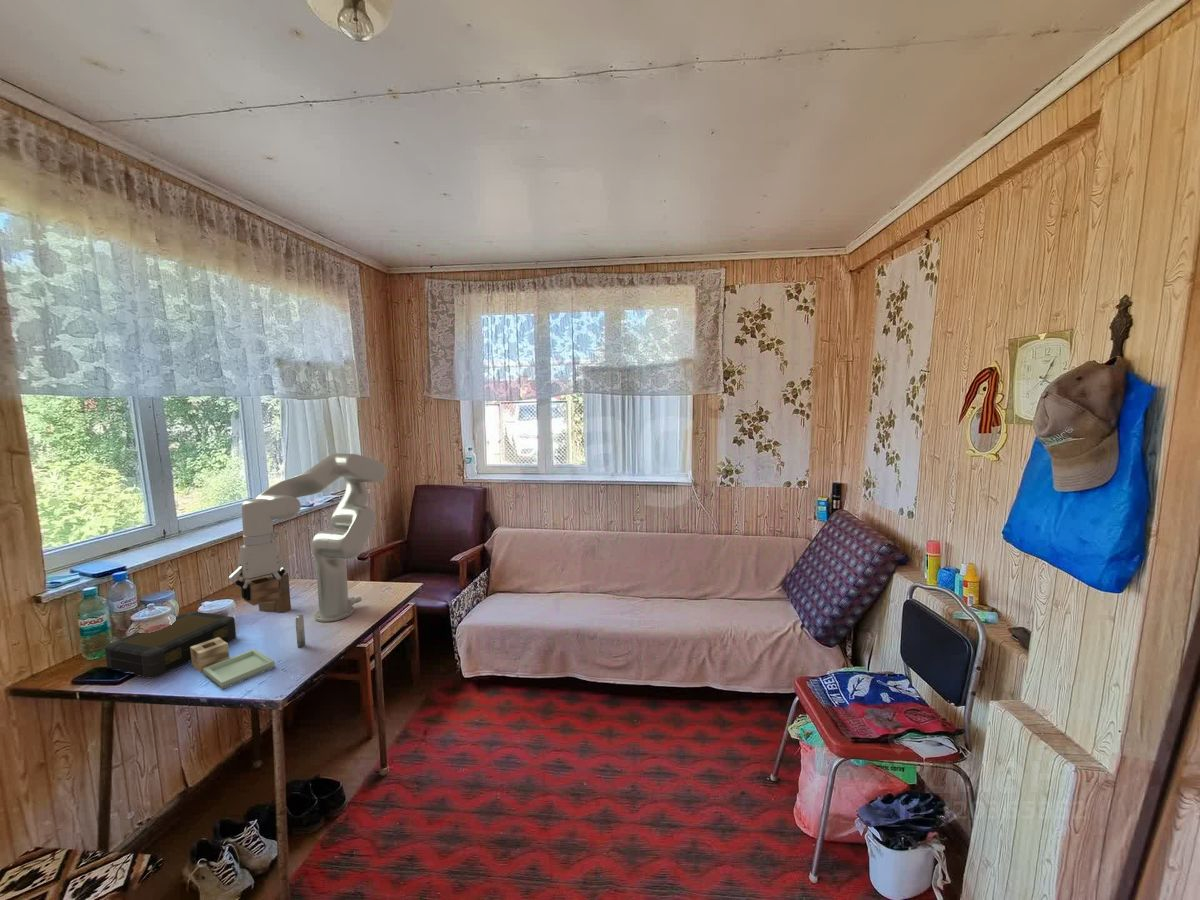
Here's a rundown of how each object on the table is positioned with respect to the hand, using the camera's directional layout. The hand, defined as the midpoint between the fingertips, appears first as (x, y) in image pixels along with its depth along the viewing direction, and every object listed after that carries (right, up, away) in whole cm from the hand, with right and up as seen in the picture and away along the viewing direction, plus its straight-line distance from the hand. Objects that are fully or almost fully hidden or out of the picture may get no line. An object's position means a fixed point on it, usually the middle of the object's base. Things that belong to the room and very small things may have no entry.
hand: (261, 595), depth 150 cm
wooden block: (-17, -15, +32) cm, 39 cm away
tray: (0, -19, -9) cm, 21 cm away
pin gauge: (+9, -18, +5) cm, 21 cm away
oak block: (-12, -19, -5) cm, 23 cm away
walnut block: (0, -1, 0) cm, 1 cm away
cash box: (-28, -19, +2) cm, 34 cm away
